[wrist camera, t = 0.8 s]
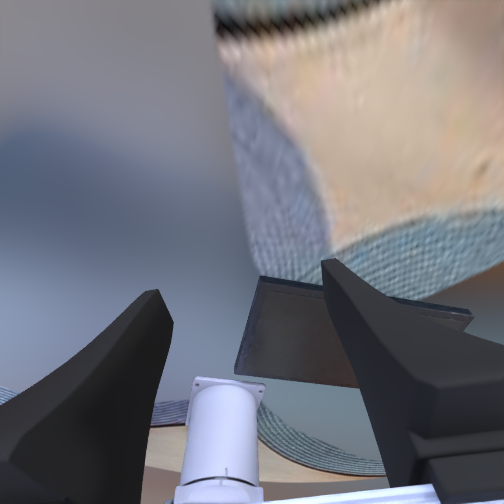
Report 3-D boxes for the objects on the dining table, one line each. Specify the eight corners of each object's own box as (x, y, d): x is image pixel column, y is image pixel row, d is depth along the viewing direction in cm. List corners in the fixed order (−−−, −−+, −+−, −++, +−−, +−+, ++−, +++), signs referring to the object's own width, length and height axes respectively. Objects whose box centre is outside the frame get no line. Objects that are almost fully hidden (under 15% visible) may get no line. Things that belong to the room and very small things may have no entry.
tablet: (406, 386, 32) (410, 395, 31) (234, 366, 30) (234, 375, 29) (468, 309, 26) (476, 317, 25) (259, 275, 24) (260, 282, 23)
